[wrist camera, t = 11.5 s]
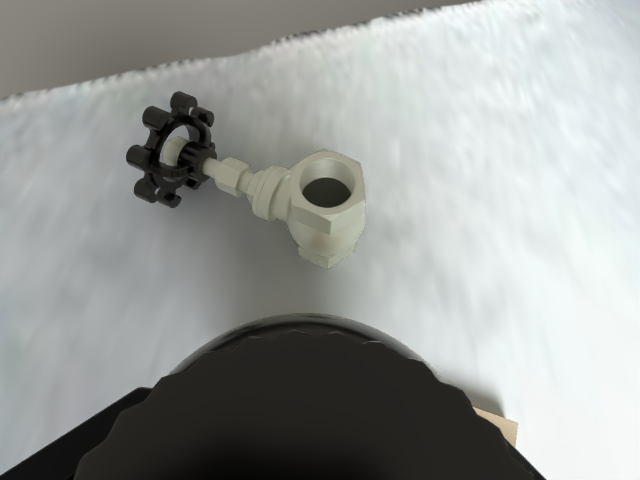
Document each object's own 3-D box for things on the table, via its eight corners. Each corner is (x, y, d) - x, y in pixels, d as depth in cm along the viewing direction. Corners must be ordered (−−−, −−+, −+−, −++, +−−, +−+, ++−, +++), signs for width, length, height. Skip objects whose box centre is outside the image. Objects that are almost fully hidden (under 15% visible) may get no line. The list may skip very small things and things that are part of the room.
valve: (377, 209, 24) (213, 143, 26) (396, 143, 18) (182, 64, 20) (334, 303, 22) (157, 222, 24) (339, 263, 16) (102, 159, 18)
